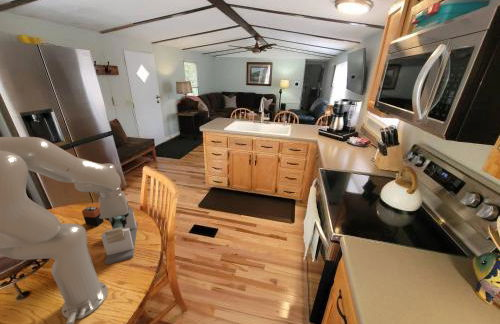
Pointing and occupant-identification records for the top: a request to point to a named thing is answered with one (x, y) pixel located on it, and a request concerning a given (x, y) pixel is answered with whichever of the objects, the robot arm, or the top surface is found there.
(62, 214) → the top surface
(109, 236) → the dowel bar
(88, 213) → the battery
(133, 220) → the stand
